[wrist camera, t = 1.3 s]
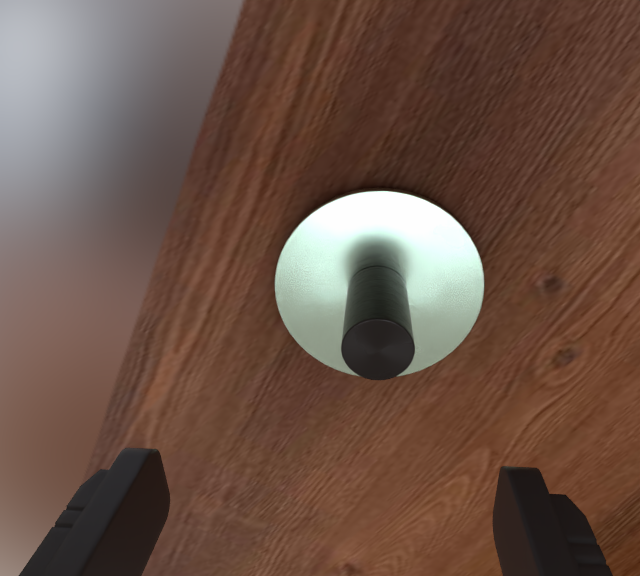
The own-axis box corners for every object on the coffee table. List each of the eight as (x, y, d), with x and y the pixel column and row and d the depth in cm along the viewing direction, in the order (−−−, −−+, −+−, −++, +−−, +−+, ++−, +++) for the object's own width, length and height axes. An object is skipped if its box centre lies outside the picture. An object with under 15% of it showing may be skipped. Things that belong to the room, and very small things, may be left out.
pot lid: (281, 360, 30) (258, 439, 24) (274, 181, 25) (242, 223, 19) (465, 371, 29) (490, 456, 23) (495, 187, 24) (536, 233, 18)
